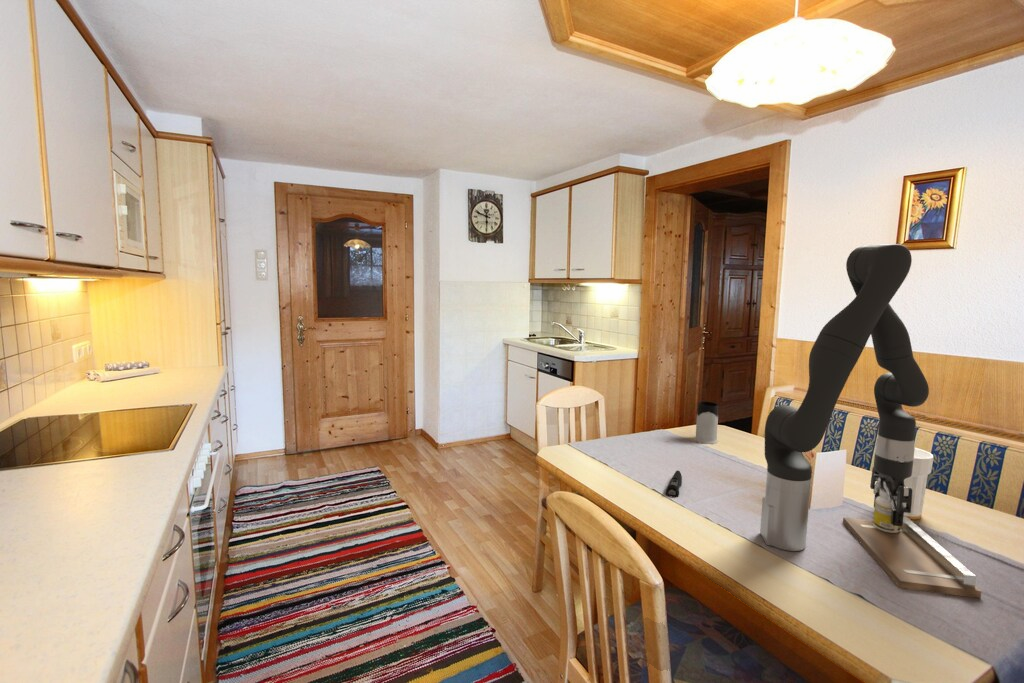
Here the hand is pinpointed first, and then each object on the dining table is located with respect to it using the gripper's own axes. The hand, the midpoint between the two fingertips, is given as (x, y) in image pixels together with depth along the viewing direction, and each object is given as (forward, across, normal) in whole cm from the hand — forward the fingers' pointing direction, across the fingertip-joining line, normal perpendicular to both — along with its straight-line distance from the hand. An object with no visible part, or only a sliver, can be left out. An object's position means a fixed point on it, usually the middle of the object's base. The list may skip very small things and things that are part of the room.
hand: (887, 516), depth 121 cm
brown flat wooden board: (+5, +10, -1) cm, 11 cm away
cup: (+5, -15, +10) cm, 19 cm away
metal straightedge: (+3, +10, +5) cm, 11 cm away
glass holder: (+5, -69, -33) cm, 77 cm away
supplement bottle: (+3, 0, 0) cm, 3 cm away
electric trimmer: (+5, -16, -49) cm, 52 cm away
